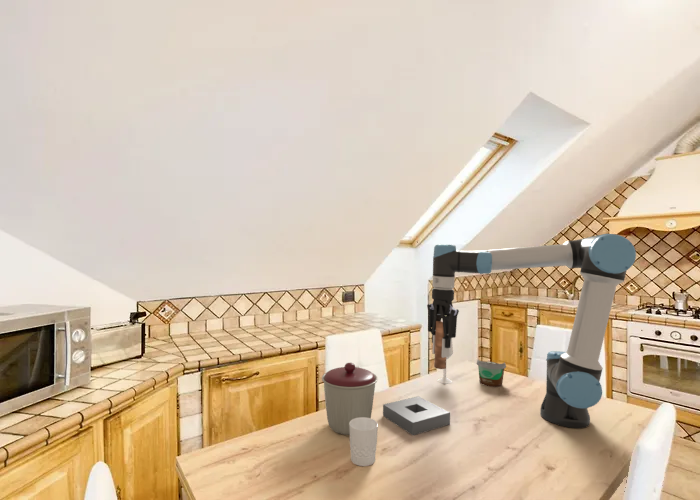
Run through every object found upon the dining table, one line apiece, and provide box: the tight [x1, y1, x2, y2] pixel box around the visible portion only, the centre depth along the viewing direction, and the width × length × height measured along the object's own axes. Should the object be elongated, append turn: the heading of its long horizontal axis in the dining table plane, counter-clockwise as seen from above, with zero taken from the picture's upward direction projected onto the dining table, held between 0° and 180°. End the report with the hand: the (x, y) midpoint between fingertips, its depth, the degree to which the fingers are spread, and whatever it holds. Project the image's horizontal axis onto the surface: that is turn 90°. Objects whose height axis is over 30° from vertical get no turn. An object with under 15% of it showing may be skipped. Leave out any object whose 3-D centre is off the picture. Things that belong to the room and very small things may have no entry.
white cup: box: [349, 417, 379, 467], centre depth 105 cm, size 8×8×10 cm
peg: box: [433, 320, 447, 370], centre depth 133 cm, size 4×4×16 cm
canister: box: [321, 362, 379, 436], centre depth 124 cm, size 18×18×21 cm
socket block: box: [382, 395, 451, 436], centre depth 130 cm, size 16×16×4 cm
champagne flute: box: [436, 334, 454, 385], centre depth 170 cm, size 7×7×24 cm
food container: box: [476, 359, 507, 388], centre depth 166 cm, size 12×6×10 cm, turn 62°
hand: (440, 354), depth 133 cm, fingers closed on peg, 4 cm apart
